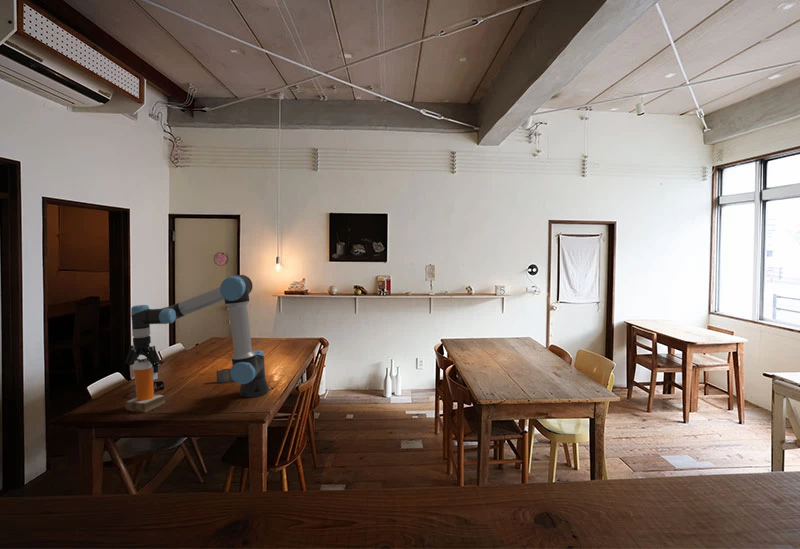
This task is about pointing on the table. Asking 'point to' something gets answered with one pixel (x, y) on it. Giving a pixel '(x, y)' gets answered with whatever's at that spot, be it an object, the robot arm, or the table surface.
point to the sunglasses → (159, 385)
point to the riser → (145, 403)
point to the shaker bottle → (143, 379)
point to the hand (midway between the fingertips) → (144, 378)
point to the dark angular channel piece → (224, 376)
